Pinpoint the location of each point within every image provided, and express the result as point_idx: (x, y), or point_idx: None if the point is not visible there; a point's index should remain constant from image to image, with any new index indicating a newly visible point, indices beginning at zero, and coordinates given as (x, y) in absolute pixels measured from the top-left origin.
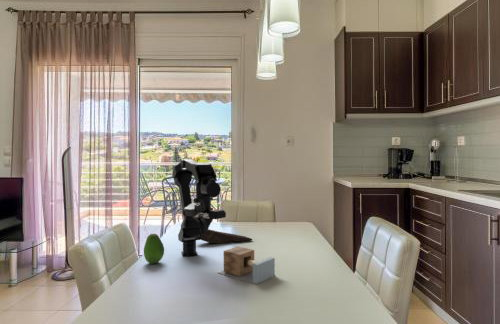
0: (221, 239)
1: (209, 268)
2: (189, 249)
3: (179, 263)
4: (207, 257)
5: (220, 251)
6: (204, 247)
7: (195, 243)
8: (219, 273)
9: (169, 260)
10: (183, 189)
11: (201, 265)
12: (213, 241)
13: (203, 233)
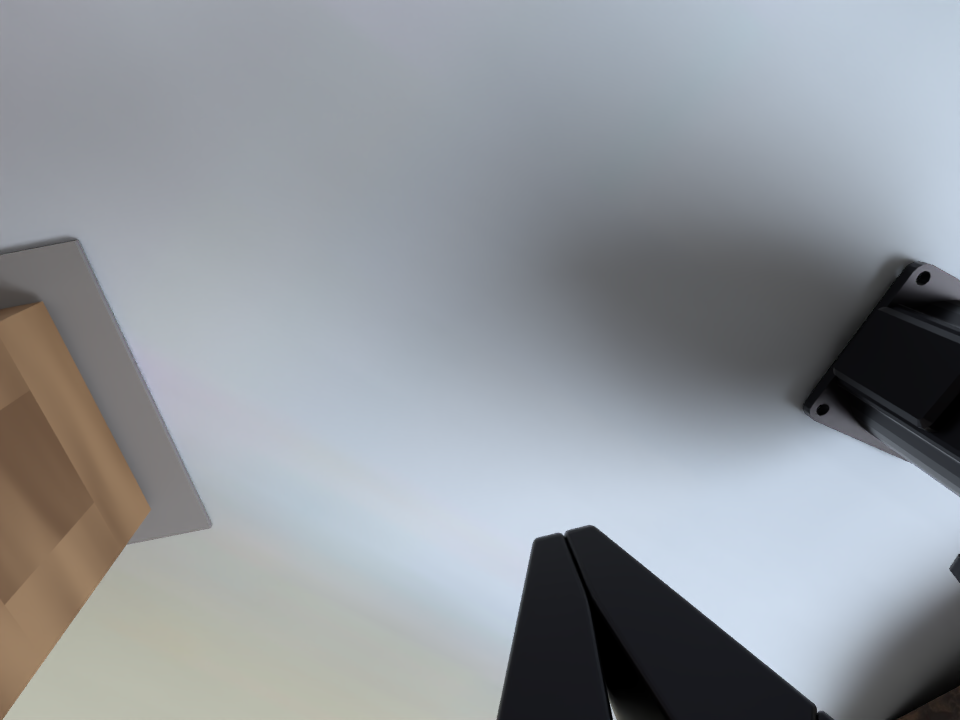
0: None
1: (312, 264)
2: (915, 355)
3: (742, 75)
4: (666, 450)
5: (719, 623)
6: (942, 583)
7: (952, 483)
8: (48, 245)
9: (952, 37)
10: None
11: (474, 253)
12: (954, 700)
13: (546, 555)
